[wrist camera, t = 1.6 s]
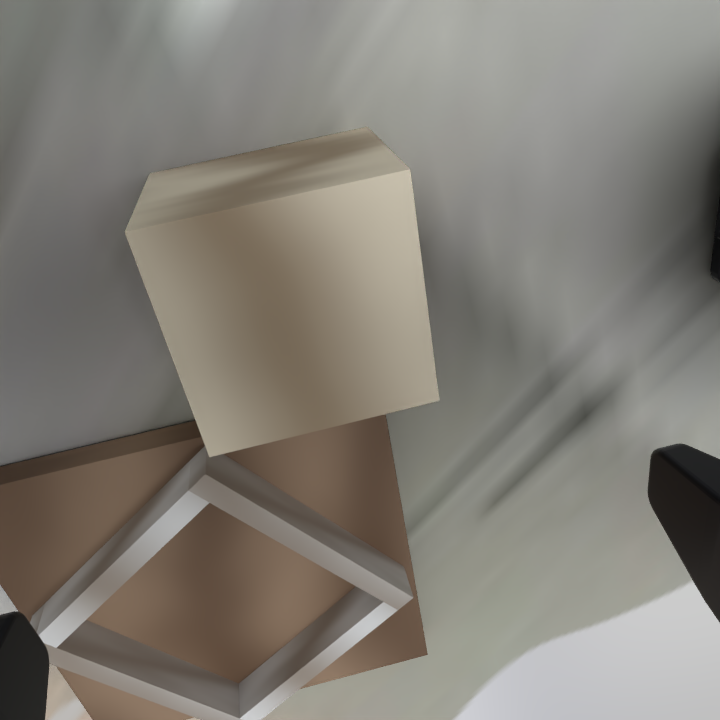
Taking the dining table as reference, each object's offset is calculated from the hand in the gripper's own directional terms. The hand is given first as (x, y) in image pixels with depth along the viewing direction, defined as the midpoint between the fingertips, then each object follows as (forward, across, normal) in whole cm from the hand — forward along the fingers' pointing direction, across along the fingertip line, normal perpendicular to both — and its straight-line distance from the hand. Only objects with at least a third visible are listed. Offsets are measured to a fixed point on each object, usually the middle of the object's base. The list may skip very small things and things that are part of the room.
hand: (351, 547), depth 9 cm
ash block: (+12, 0, 0) cm, 12 cm away
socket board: (+12, +5, +12) cm, 17 cm away
